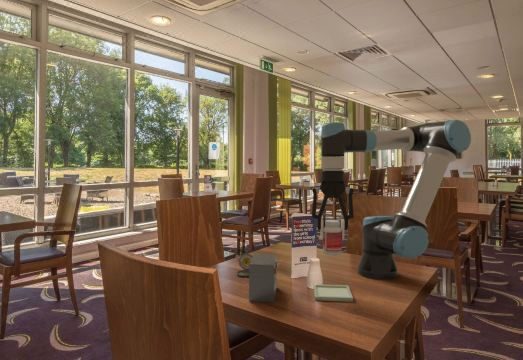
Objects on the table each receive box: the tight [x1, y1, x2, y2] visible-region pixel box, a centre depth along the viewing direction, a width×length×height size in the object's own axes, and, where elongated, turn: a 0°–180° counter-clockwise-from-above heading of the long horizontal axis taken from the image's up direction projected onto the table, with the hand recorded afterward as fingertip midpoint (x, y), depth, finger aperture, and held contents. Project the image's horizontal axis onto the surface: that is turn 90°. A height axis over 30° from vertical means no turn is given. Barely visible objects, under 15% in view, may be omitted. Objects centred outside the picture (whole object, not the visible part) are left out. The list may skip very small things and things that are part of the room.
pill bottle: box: [322, 219, 343, 257], centre depth 124 cm, size 6×6×11 cm
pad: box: [313, 284, 354, 302], centre depth 124 cm, size 12×12×1 cm
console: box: [248, 253, 279, 303], centre depth 124 cm, size 9×14×12 cm, turn 174°
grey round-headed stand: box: [236, 247, 253, 277], centre depth 147 cm, size 8×8×10 cm
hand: (332, 238), depth 124 cm, fingers closed on pill bottle, 6 cm apart
